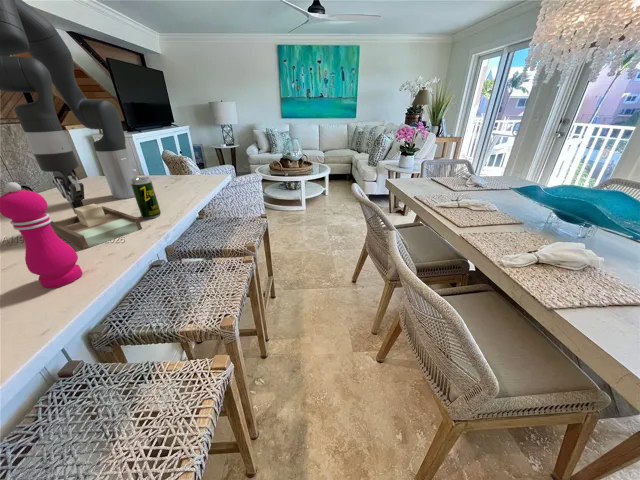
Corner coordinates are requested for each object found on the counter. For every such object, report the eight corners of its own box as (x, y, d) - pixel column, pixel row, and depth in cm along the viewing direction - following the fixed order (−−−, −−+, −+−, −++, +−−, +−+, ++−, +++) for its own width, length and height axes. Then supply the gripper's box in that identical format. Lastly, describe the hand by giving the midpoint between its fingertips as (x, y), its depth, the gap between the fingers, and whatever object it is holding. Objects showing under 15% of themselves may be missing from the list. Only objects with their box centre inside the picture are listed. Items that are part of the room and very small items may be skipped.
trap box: (106, 215, 85) (102, 206, 83) (142, 228, 76) (138, 218, 74) (50, 232, 74) (45, 221, 72) (84, 249, 65) (78, 237, 63)
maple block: (99, 218, 76) (93, 203, 74) (107, 221, 74) (101, 206, 72) (81, 223, 73) (74, 208, 71) (88, 227, 71) (81, 211, 69)
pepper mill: (58, 270, 57) (8, 177, 48) (94, 268, 57) (50, 176, 48) (28, 291, 50) (-37, 189, 41) (68, 288, 51) (13, 187, 42)
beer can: (138, 218, 83) (125, 180, 77) (152, 212, 87) (141, 176, 82) (151, 220, 81) (139, 181, 76) (165, 214, 86) (154, 177, 80)
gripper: (82, 150, 67) (107, 213, 75) (60, 146, 73) (85, 206, 81) (43, 154, 61) (75, 222, 69) (23, 150, 67) (54, 213, 75)
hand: (81, 213), depth 75 cm, fingers closed
